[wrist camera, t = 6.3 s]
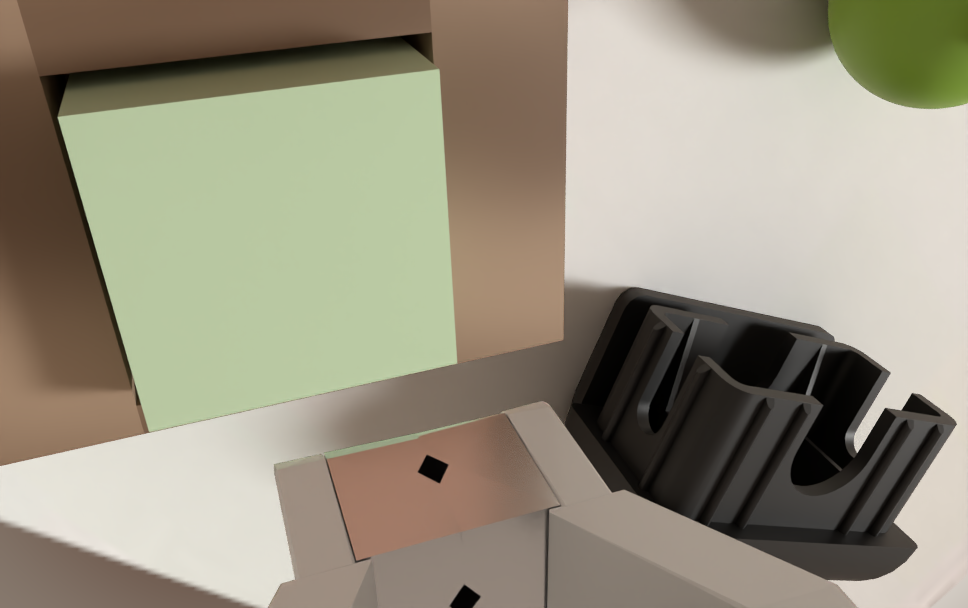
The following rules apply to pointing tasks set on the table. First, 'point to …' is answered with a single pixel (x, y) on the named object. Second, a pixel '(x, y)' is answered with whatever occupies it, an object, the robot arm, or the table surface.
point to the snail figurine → (904, 49)
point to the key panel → (244, 29)
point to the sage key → (268, 221)
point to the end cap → (754, 431)
